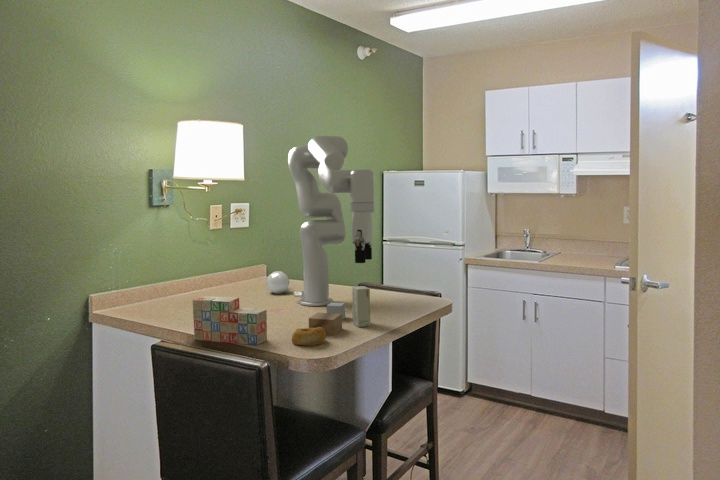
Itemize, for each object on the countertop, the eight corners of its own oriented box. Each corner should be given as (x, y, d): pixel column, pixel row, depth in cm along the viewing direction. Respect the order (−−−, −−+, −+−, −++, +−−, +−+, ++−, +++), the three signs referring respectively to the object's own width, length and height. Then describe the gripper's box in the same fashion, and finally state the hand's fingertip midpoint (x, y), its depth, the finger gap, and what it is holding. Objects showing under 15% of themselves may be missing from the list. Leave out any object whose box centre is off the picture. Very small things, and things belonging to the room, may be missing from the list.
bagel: (324, 336, 177) (323, 321, 176) (327, 346, 166) (327, 330, 165) (291, 338, 175) (290, 322, 175) (292, 348, 164) (292, 332, 164)
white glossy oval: (274, 299, 239) (276, 296, 254) (293, 284, 239) (294, 282, 254) (260, 281, 238) (263, 279, 253) (280, 266, 239) (281, 265, 254)
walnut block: (309, 334, 180) (308, 318, 179) (318, 327, 187) (318, 312, 187) (333, 336, 178) (333, 319, 177) (342, 329, 185) (341, 313, 185)
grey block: (326, 320, 197) (326, 305, 196) (331, 316, 202) (331, 302, 201) (341, 320, 196) (341, 306, 195) (345, 317, 201) (345, 303, 200)
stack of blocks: (267, 340, 173) (266, 299, 172) (257, 345, 167) (256, 303, 166) (205, 334, 180) (204, 295, 179) (193, 339, 175) (192, 299, 173)
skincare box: (370, 326, 187) (370, 288, 186) (357, 327, 186) (357, 289, 185) (365, 321, 194) (364, 285, 192) (352, 322, 192) (351, 286, 191)
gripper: (357, 207, 198) (358, 258, 199) (344, 209, 181) (345, 264, 182) (379, 207, 196) (380, 258, 197) (368, 208, 179) (369, 264, 180)
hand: (363, 261), depth 190 cm, fingers open, 9 cm apart
